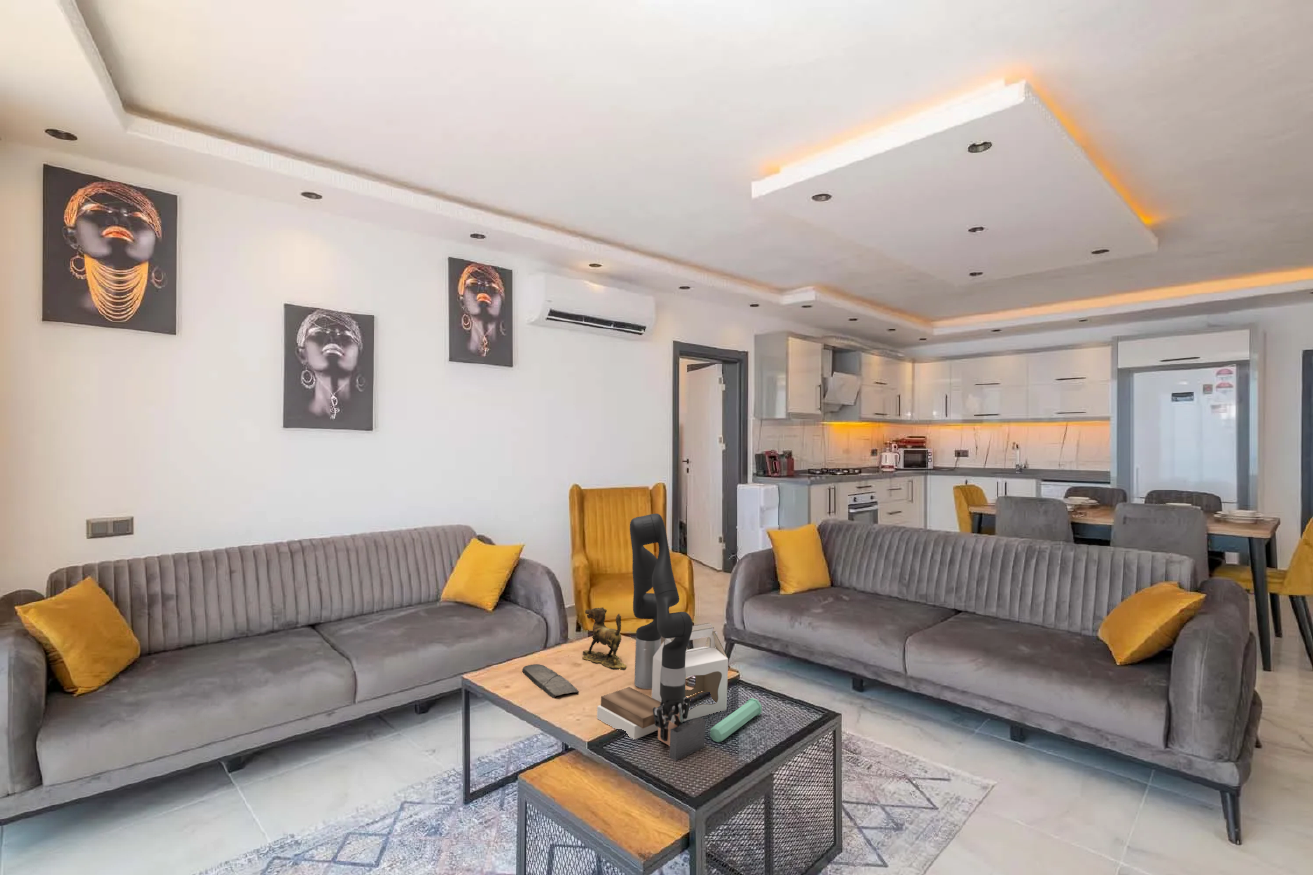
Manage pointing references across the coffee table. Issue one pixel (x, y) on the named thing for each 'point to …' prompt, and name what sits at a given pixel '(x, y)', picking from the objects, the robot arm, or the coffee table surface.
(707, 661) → the gable box
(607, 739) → the coffee table surface
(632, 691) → the plank
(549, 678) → the stone slab
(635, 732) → the riser
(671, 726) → the support block
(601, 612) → the figurine
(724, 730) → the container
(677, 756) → the block
